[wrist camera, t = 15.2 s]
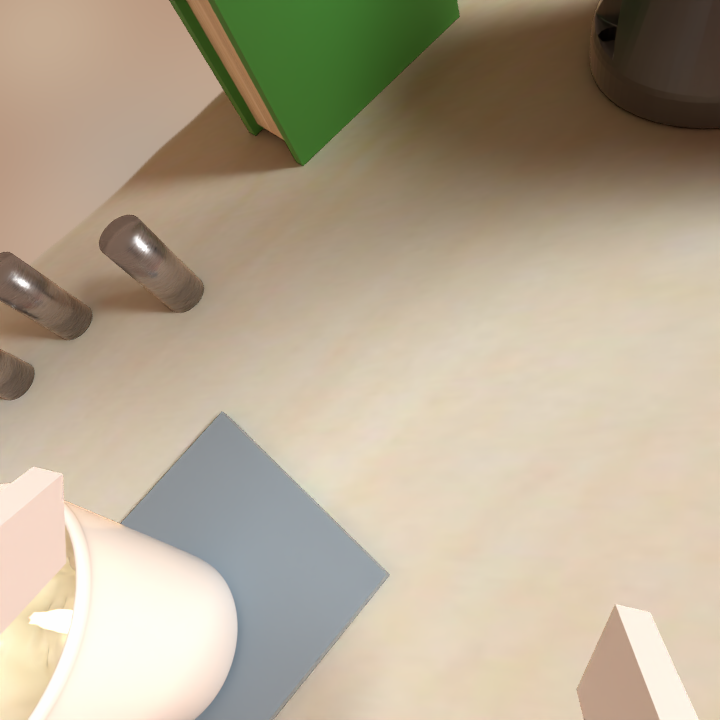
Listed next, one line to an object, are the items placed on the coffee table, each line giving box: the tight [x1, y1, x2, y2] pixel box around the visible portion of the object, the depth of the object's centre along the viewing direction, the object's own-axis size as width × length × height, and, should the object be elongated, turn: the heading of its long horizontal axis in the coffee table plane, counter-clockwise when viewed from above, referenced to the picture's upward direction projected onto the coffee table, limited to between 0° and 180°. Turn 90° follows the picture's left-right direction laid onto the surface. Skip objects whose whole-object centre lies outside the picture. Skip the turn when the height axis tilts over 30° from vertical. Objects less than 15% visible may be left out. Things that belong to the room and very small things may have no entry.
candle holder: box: [0, 483, 238, 720], centre depth 23 cm, size 10×10×12 cm
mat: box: [120, 412, 390, 720], centre depth 29 cm, size 18×14×1 cm
